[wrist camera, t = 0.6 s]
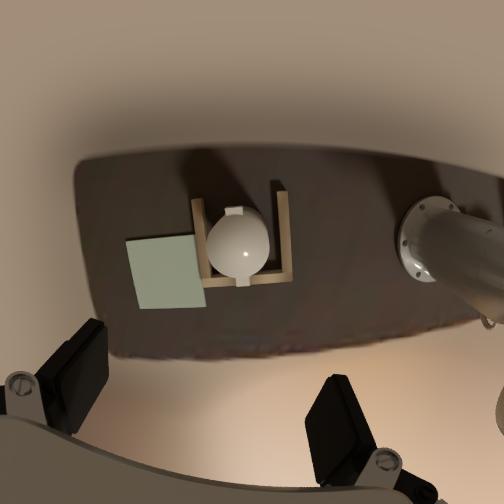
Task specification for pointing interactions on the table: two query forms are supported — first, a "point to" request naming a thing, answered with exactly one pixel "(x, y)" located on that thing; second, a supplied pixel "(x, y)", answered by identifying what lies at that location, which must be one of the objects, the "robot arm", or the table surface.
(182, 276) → the sage tile
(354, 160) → the table surface
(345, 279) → the table surface
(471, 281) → the robot arm
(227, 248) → the labeled white canister
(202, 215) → the oak stall
